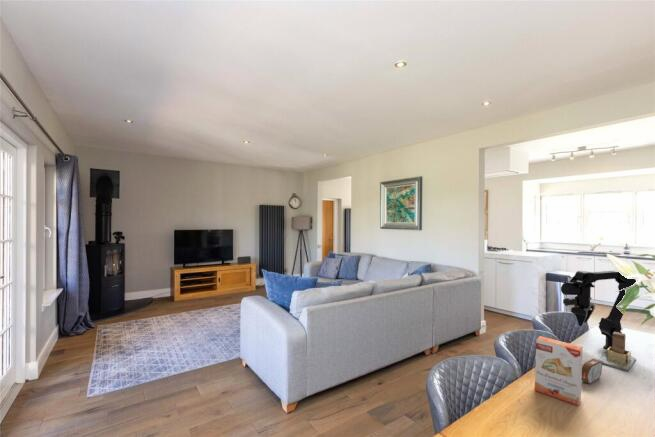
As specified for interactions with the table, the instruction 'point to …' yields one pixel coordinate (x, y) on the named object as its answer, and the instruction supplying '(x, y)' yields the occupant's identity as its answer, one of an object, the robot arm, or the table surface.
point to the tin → (591, 371)
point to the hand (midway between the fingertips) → (582, 324)
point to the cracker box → (558, 369)
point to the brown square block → (618, 343)
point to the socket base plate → (617, 359)
